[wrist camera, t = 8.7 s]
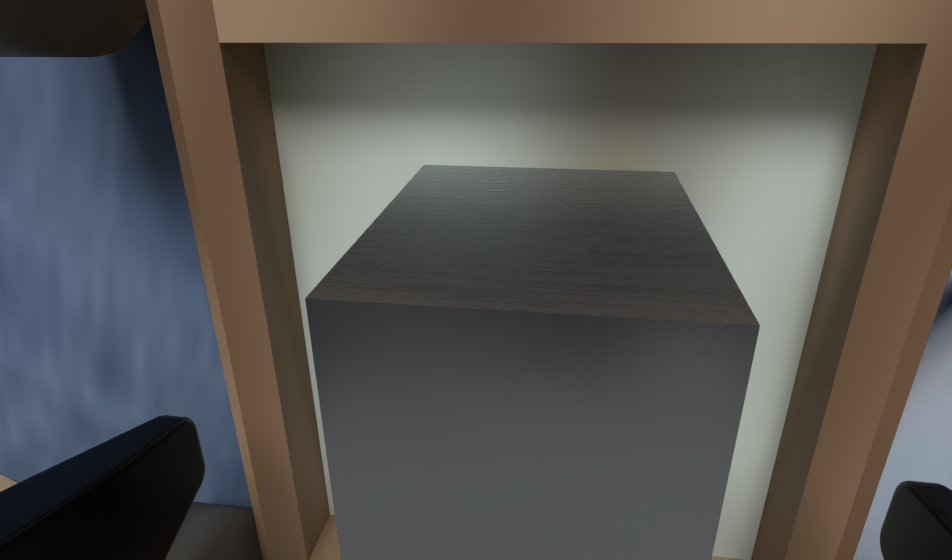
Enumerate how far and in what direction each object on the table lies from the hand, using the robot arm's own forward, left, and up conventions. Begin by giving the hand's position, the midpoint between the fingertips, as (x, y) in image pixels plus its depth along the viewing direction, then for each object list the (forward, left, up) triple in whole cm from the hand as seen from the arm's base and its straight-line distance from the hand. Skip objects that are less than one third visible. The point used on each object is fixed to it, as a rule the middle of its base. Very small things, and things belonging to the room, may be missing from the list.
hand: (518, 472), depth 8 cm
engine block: (0, 0, -4) cm, 4 cm away
